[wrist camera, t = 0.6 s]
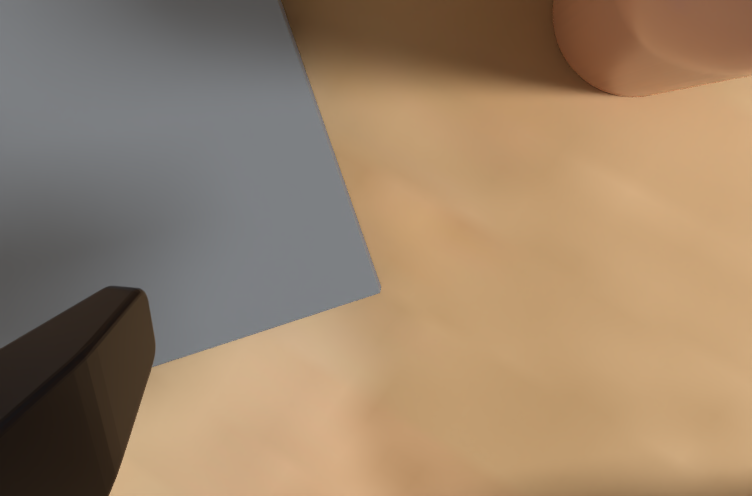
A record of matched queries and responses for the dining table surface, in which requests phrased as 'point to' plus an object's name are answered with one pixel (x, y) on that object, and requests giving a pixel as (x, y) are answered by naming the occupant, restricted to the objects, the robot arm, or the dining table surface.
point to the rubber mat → (168, 170)
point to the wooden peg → (654, 43)
